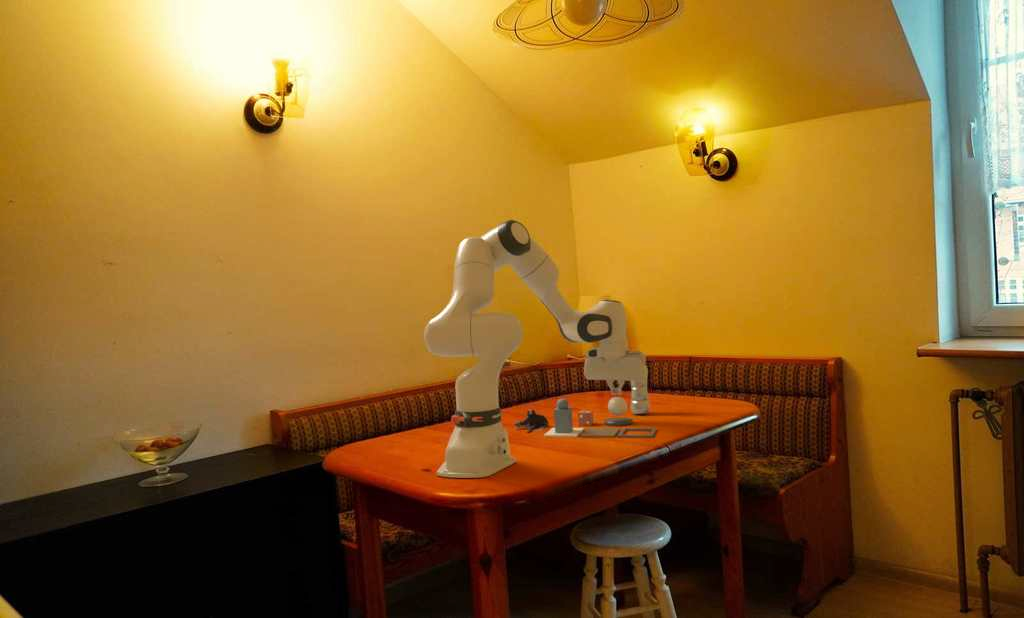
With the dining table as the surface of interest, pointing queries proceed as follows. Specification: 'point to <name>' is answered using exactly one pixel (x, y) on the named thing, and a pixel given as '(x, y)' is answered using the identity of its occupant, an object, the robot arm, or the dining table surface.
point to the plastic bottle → (640, 397)
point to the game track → (601, 432)
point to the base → (618, 421)
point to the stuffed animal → (532, 421)
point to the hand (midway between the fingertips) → (616, 394)
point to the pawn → (563, 417)
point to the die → (585, 418)
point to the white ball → (617, 406)
